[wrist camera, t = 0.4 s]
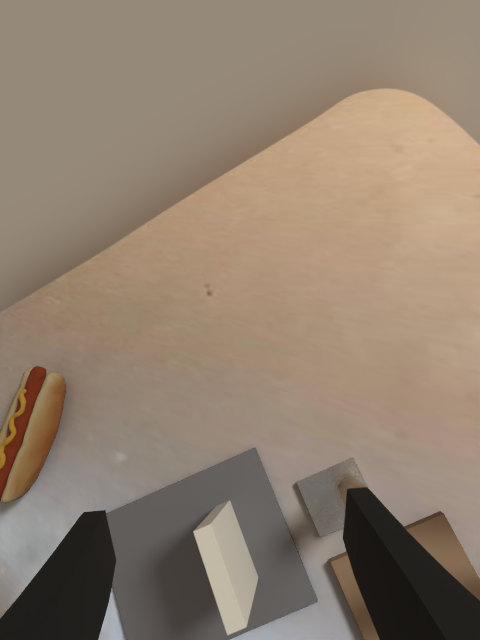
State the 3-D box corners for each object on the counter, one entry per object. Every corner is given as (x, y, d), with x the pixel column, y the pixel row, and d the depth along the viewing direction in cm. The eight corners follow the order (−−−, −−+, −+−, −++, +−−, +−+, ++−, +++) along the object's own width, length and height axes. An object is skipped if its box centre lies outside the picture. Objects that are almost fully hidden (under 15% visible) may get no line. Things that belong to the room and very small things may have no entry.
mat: (317, 599, 32) (317, 601, 31) (138, 675, 32) (136, 678, 32) (255, 447, 36) (254, 447, 35) (98, 517, 36) (96, 518, 36)
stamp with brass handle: (352, 457, 34) (370, 470, 26) (378, 510, 33) (405, 541, 24) (296, 481, 34) (296, 502, 26) (319, 535, 33) (327, 574, 25)
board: (516, 650, 28) (521, 657, 28) (391, 701, 29) (394, 709, 28) (440, 511, 32) (443, 513, 31) (329, 558, 32) (330, 562, 31)
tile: (258, 577, 32) (246, 627, 25) (243, 584, 32) (226, 635, 25) (229, 500, 34) (210, 523, 27) (215, 506, 35) (192, 532, 27)
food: (40, 502, 38) (4, 514, 33) (-1, 487, 39) (-42, 497, 34) (83, 376, 41) (55, 371, 36) (44, 366, 42) (11, 360, 37)
